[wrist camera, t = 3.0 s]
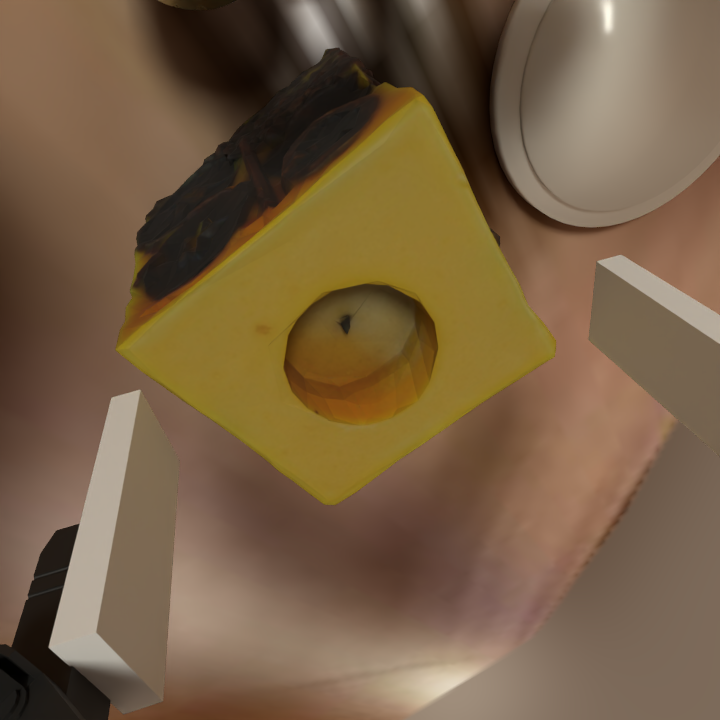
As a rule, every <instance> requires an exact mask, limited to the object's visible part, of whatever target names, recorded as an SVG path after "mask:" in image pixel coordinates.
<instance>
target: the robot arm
mask: <svg viewBox="0 0 720 720" xmlns="http://www.w3.org/2000/svg"><path fill="white" fill-rule="evenodd" d="M589 341H590V342H591V343H593V344H594V345H595V346H596V347H597V348H598V349H599V350H600V351H602V352H603V353H604V354H605V355H606V356H607V357H608V358H609V359H611V360H612V361H613V362H614V363H615V364H616V365H617V366H618V367H620V368H621V369H622V370H623V371H624V372H625V373H626V374H627V375H628V376H630V377H631V378H632V379H633V380H634V381H635V382H636V383H637V384H639V385H640V386H641V387H642V388H643V389H644V390H645V391H646V392H648V393H649V394H650V395H651V396H652V397H653V398H654V399H655V400H657V401H658V402H659V403H660V404H661V405H662V406H663V407H664V408H666V409H667V410H668V411H669V412H670V413H671V414H672V415H673V416H674V417H676V418H677V419H678V420H679V421H680V422H681V423H682V424H683V425H685V426H686V427H687V428H688V429H689V430H690V431H691V432H692V433H694V434H695V435H696V436H697V437H698V438H699V439H700V440H701V441H703V442H704V443H705V444H706V445H707V446H708V447H709V448H710V449H711V450H713V451H714V452H715V453H716V454H717V455H718V456H719V457H720V315H719V314H717V313H715V312H714V311H712V310H711V309H709V308H707V307H706V306H704V305H702V304H701V303H699V302H698V301H696V300H694V299H693V298H691V297H689V296H688V295H686V294H684V293H683V292H681V291H680V290H678V289H676V288H675V287H673V286H671V285H670V284H668V283H667V282H665V281H663V280H662V279H660V278H658V277H657V276H655V275H653V274H652V273H650V272H649V271H647V270H645V269H644V268H642V267H640V266H639V265H637V264H636V263H634V262H632V261H631V260H629V259H627V258H626V257H624V256H622V255H618V256H615V257H611V258H607V259H604V260H600V261H597V262H596V272H595V282H594V291H593V301H592V311H591V321H590V330H589ZM179 464H180V460H179V458H178V456H177V454H176V452H175V451H174V449H173V447H172V445H171V444H170V442H169V440H168V438H167V436H166V435H165V433H164V431H163V429H162V427H161V426H160V424H159V422H158V420H157V418H156V417H155V415H154V413H153V411H152V409H151V408H150V406H149V404H148V402H147V400H146V399H145V397H144V395H143V393H142V391H141V390H137V391H134V392H130V393H127V394H123V395H119V396H116V397H112V398H111V402H110V406H109V410H108V414H107V418H106V422H105V426H104V430H103V434H102V438H101V442H100V446H99V450H98V454H97V457H96V461H95V465H94V469H93V473H92V477H91V481H90V485H89V489H88V493H87V497H86V501H85V505H84V509H83V513H82V517H81V521H80V524H77V525H73V526H70V527H67V528H63V529H60V530H57V531H56V532H55V533H54V535H53V536H52V538H51V539H50V541H49V542H48V544H47V545H46V546H45V548H44V549H43V551H42V552H41V554H40V557H39V561H38V564H37V567H36V570H35V573H34V581H32V583H31V586H30V590H29V593H28V600H26V602H25V606H24V609H23V612H22V615H21V619H20V622H19V625H18V628H17V631H16V635H15V638H14V641H13V644H12V648H11V647H9V646H8V645H6V644H3V645H0V720H108V716H109V709H110V703H111V704H112V705H114V706H115V707H116V708H117V709H118V710H119V711H120V712H121V713H123V714H127V713H130V712H133V711H136V710H139V709H142V708H145V707H148V706H151V705H154V704H157V703H160V702H163V696H164V681H165V667H166V652H167V638H168V623H169V609H170V594H171V580H172V565H173V551H174V536H175V522H176V507H177V493H178V478H179Z"/></svg>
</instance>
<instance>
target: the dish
mask: <svg viewBox="0 0 720 720" xmlns="http://www.w3.org/2000/svg"><path fill="white" fill-rule="evenodd" d="M489 113H490V126H491V134H492V138H493V143H494V148H495V152H496V154H497V157H498V160H499V163H500V166H501V168H502V170H503V172H504V173H505V175H506V177H507V179H508V181H509V182H510V184H511V185H512V186H513V188H514V189H515V190H516V192H517V193H518V194H519V195H520V196H521V197H522V198H523V199H524V200H525V201H526V202H528V203H529V204H530V205H532V206H533V207H535V208H536V209H538V210H539V211H541V212H542V213H544V214H546V215H547V216H549V217H550V218H553V219H555V220H557V221H560V222H562V223H565V224H569V225H574V226H579V227H604V226H611V225H615V224H620V223H624V222H627V221H630V220H633V219H636V218H638V217H641V216H643V215H645V214H647V213H649V212H651V211H653V210H655V209H657V208H658V207H660V206H662V205H663V204H665V203H667V202H668V201H670V200H671V199H673V198H674V197H675V196H677V195H678V194H679V193H681V192H682V191H684V190H685V189H686V188H687V187H688V186H690V185H691V184H692V183H693V182H694V181H695V180H696V179H697V178H699V177H700V176H701V175H702V174H703V173H704V172H705V171H706V170H707V169H708V168H709V167H710V165H711V164H712V163H713V162H714V161H715V160H716V159H717V158H718V157H719V155H720V0H515V1H514V4H513V6H512V8H511V10H510V12H509V14H508V17H507V20H506V23H505V25H504V28H503V31H502V34H501V37H500V40H499V43H498V48H497V52H496V56H495V60H494V64H493V70H492V77H491V84H490V103H489Z"/></svg>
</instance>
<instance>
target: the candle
mask: <svg viewBox="0 0 720 720" xmlns="http://www.w3.org/2000/svg"><path fill="white" fill-rule="evenodd" d="M145 220H146V224H145V225H144V226H143V227H142V228H141V229H140V230H139V231H138V232H137V238H136V240H137V245H138V246H137V247H136V249H135V254H134V255H135V263H136V264H135V271H134V277H133V281H132V285H131V288H130V293H131V296H132V299H131V300H130V302H129V303H128V305H127V307H126V315H125V322H124V324H123V326H122V328H121V329H120V332H119V336H118V341H117V345H116V349H115V350H116V351H117V352H118V353H119V354H121V355H122V356H123V357H124V358H126V359H127V360H128V361H129V362H131V363H132V364H133V365H134V366H136V367H137V368H138V369H139V370H141V371H142V372H143V373H145V374H146V375H147V376H149V377H150V378H152V379H153V380H155V381H156V382H157V383H159V384H160V385H162V386H163V387H164V388H166V389H167V390H169V391H170V392H171V393H173V394H174V395H176V396H177V397H178V398H180V399H181V400H183V401H184V402H186V403H187V404H189V405H190V406H192V407H193V408H195V409H196V410H198V411H199V412H201V413H202V414H204V415H205V416H207V417H208V418H210V419H211V420H213V421H214V422H215V423H217V424H218V425H220V426H221V427H222V428H224V429H225V430H227V431H228V432H229V433H231V434H232V435H234V436H235V437H236V438H238V439H239V440H241V441H242V442H243V443H245V444H246V445H247V446H249V447H250V448H251V449H252V450H254V451H255V452H256V453H258V454H259V455H260V456H261V457H263V458H264V459H265V460H267V461H268V462H269V463H270V464H271V465H272V466H273V467H275V468H276V469H277V470H278V471H279V472H281V473H282V474H284V475H285V476H287V477H288V478H290V479H291V480H292V481H294V482H295V483H296V484H298V485H299V486H300V487H302V488H303V489H304V490H305V491H307V492H308V493H309V494H311V495H312V496H313V497H315V498H316V499H317V500H319V501H320V502H321V503H323V504H324V505H336V504H338V503H339V502H341V501H343V500H344V499H346V498H348V497H349V496H351V495H352V494H354V493H356V492H357V491H358V490H360V489H361V488H362V487H364V486H365V485H366V484H368V483H369V482H370V481H372V480H373V479H374V478H376V477H377V476H378V475H380V474H381V473H382V472H384V471H385V470H386V469H388V468H389V467H390V466H392V465H393V464H394V463H396V462H397V461H398V460H400V459H401V458H403V457H404V456H406V455H407V454H409V453H410V452H412V451H413V450H415V449H416V448H418V447H419V446H421V445H422V444H424V443H425V442H427V441H428V440H429V439H431V438H432V437H434V436H435V435H437V434H438V433H439V432H441V431H442V430H444V429H445V428H447V427H448V426H449V425H451V424H452V423H454V422H455V421H457V420H458V419H460V418H461V417H462V416H464V415H465V414H467V413H468V412H470V411H471V410H472V409H474V408H475V407H477V406H478V405H480V404H481V403H483V402H484V401H486V400H487V399H489V398H491V397H492V396H494V395H495V394H497V393H498V392H500V391H502V390H503V389H505V388H506V387H508V386H509V385H511V384H512V383H514V382H516V381H517V380H519V379H520V378H522V377H523V376H525V375H526V374H528V373H530V372H531V371H533V370H534V369H536V368H537V367H539V366H541V365H542V364H544V363H545V362H547V361H548V360H550V359H552V358H553V357H555V352H556V340H555V338H554V337H553V336H552V334H551V333H550V331H549V330H548V328H547V327H546V326H545V324H544V323H543V322H542V321H541V320H540V318H539V317H538V316H537V315H536V314H535V313H534V312H533V310H532V309H531V308H530V307H529V306H528V304H527V301H526V299H525V296H524V294H523V292H522V289H521V287H520V284H519V282H518V281H517V279H516V277H515V275H514V274H513V272H512V270H511V268H510V267H509V265H508V263H507V261H506V259H505V258H504V256H503V254H502V252H501V250H500V248H499V246H500V236H498V235H497V234H496V233H495V232H494V231H493V230H492V229H490V228H489V227H488V225H487V223H486V220H485V218H484V216H483V214H482V212H481V210H480V207H479V205H478V203H477V201H476V199H475V196H474V194H473V192H472V190H471V188H470V185H469V183H468V180H467V178H466V175H465V173H464V170H463V168H462V166H461V164H460V162H459V160H458V159H457V157H456V155H455V153H454V151H453V149H452V147H451V145H450V143H449V141H448V139H447V136H446V134H445V132H444V130H443V128H442V126H441V124H440V122H439V120H438V118H437V116H436V114H435V111H434V109H433V108H432V106H431V105H430V104H429V102H428V101H427V100H426V98H425V97H424V96H423V95H422V94H421V93H419V92H418V91H416V90H415V89H414V88H412V87H404V88H396V87H394V86H392V85H390V84H388V83H386V82H385V83H383V84H381V83H380V82H378V81H377V80H375V79H374V78H373V73H372V71H370V70H368V69H365V66H364V64H363V63H362V62H361V61H360V60H359V58H354V57H350V56H349V55H348V54H347V53H345V52H344V51H342V50H340V48H333V49H327V50H325V53H324V55H323V58H322V59H321V61H320V62H319V63H318V64H316V65H314V66H313V67H311V68H310V69H308V70H306V71H304V72H302V73H301V74H300V75H299V76H298V77H297V78H296V79H295V80H294V81H293V82H292V83H291V84H290V86H289V87H286V88H284V89H282V90H280V91H278V92H277V93H276V95H275V96H274V97H273V98H272V99H271V100H270V101H269V103H268V104H267V105H266V106H265V107H264V108H262V109H261V110H260V111H259V112H257V113H256V114H255V115H254V116H252V117H251V118H250V119H248V120H247V121H246V122H245V123H243V124H242V125H241V126H240V127H239V128H238V129H237V131H236V132H235V133H234V135H233V136H232V137H231V139H230V140H229V142H224V143H222V144H220V145H218V147H217V149H216V151H215V153H213V154H212V155H210V156H209V157H207V158H206V159H204V163H203V165H202V166H201V167H200V168H199V169H198V170H197V171H196V172H195V173H194V174H193V175H191V176H190V177H189V178H188V179H187V180H186V181H185V183H184V184H183V185H182V186H181V187H180V188H179V189H178V190H177V191H176V192H175V193H174V194H173V195H171V196H168V197H166V198H163V199H161V200H158V201H157V202H156V204H155V206H154V208H153V210H152V211H150V212H149V213H148V214H147V215H146V218H145Z"/></svg>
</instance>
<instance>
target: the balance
mask: <svg viewBox="0 0 720 720" xmlns="http://www.w3.org/2000/svg"><path fill="white" fill-rule="evenodd" d="M158 1H160V2H162V3H164V4H167V5H170V6H173V7H176V8H181V9H187V10H210V9H216V8H219V7H222V6H226V5H228V4H230V3H232V2H234V1H236V0H158Z"/></svg>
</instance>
